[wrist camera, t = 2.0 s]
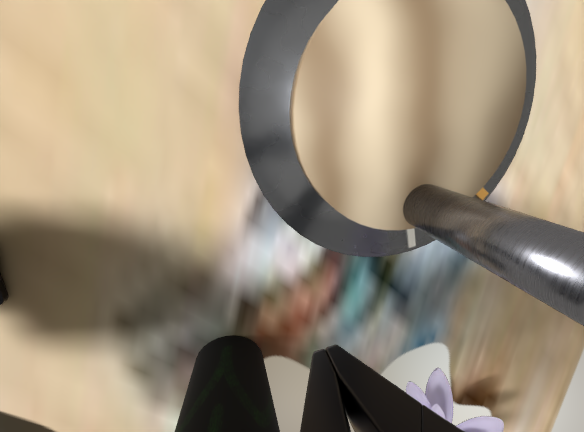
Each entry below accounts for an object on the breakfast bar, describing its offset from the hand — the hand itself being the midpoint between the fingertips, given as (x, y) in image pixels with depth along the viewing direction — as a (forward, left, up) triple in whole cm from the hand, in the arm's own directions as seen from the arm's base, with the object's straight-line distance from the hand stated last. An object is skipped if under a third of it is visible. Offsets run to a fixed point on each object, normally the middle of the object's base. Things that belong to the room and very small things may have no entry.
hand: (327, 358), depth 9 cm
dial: (+8, +8, -11) cm, 16 cm away
